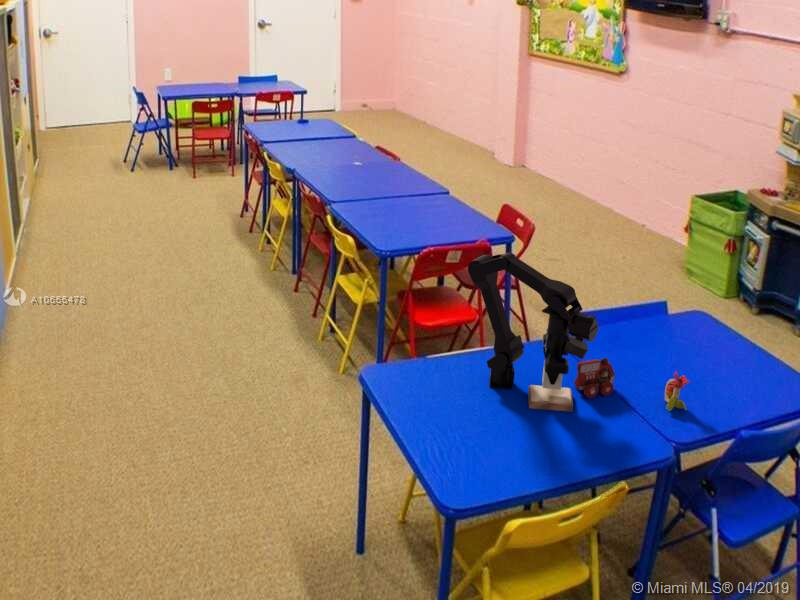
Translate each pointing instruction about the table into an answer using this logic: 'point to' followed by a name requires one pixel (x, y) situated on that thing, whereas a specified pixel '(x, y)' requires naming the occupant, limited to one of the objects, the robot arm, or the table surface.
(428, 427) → the table surface
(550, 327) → the robot arm
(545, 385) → the white block
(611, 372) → the toy fire truck
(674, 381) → the bird rattle
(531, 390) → the plinth
